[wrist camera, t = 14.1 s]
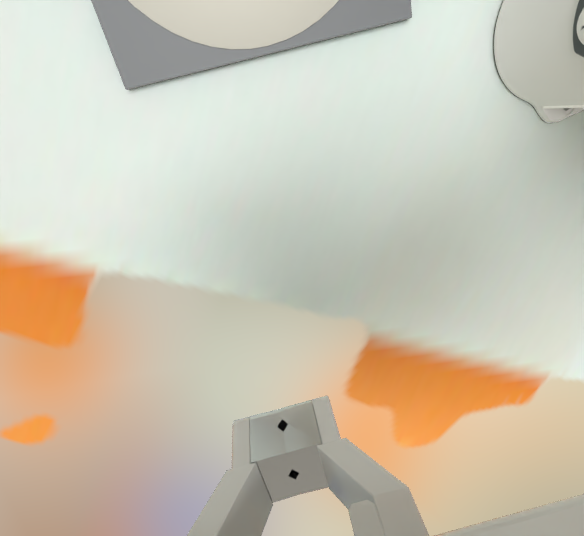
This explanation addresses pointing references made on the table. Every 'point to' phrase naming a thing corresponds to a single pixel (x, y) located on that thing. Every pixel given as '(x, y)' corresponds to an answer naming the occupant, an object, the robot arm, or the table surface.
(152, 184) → the table surface
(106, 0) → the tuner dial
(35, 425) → the table surface
